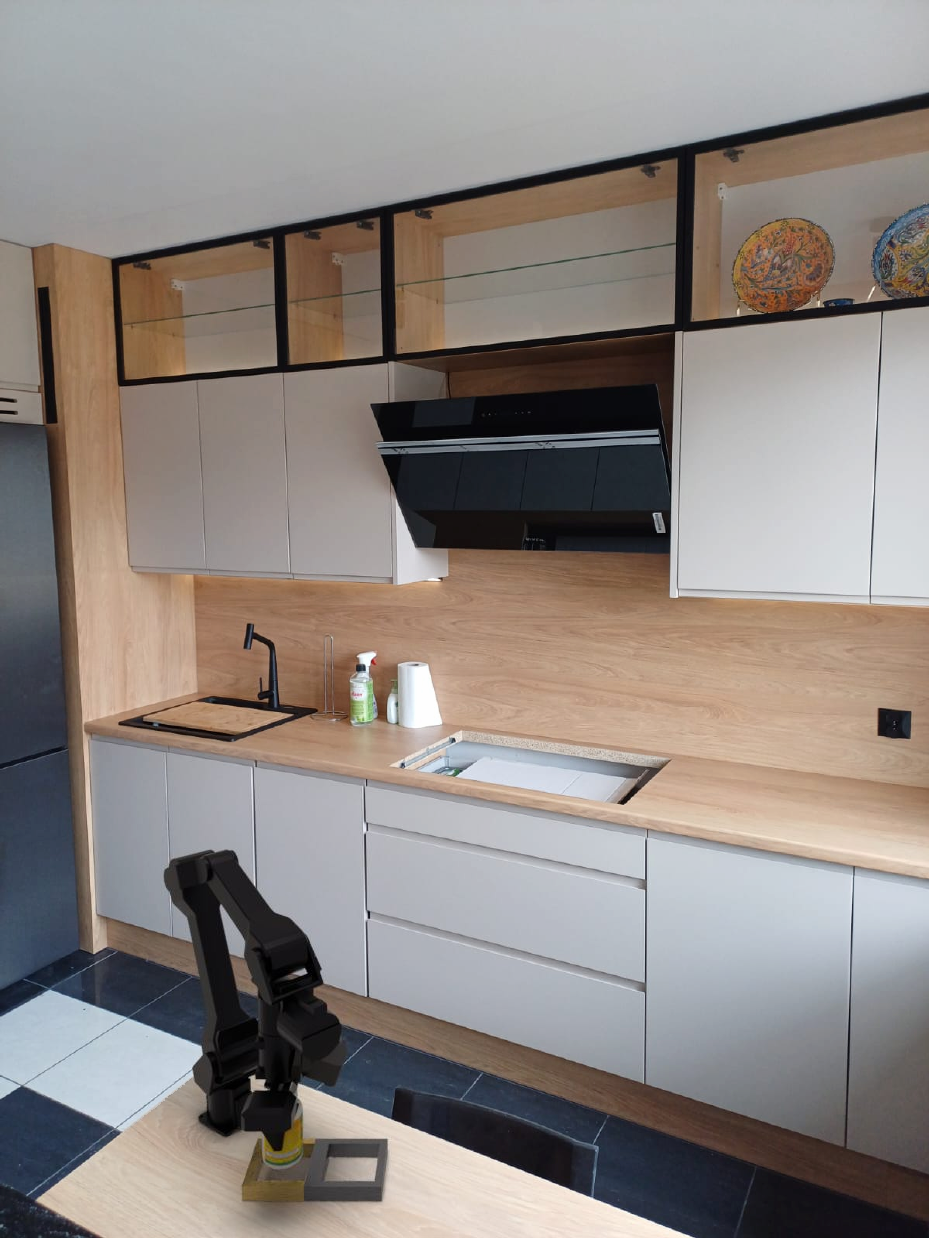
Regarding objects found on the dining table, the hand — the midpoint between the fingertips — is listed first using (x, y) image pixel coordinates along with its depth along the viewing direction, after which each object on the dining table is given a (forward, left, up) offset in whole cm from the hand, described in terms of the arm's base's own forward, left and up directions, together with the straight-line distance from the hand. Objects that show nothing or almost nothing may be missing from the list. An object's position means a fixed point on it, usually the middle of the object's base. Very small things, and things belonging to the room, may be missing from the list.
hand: (282, 1135), depth 117 cm
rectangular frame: (+4, +3, -6) cm, 7 cm away
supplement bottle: (0, 0, -3) cm, 3 cm away
